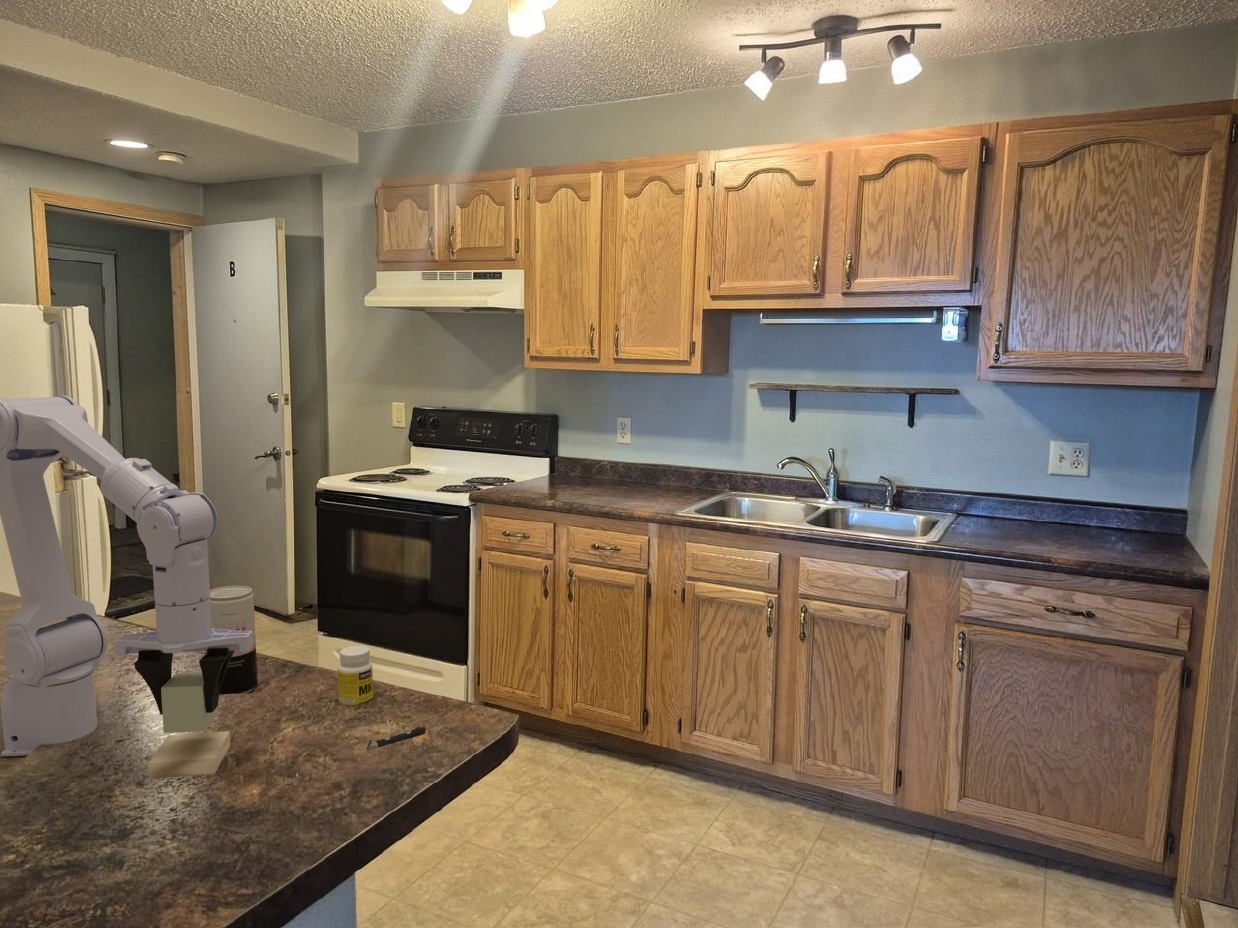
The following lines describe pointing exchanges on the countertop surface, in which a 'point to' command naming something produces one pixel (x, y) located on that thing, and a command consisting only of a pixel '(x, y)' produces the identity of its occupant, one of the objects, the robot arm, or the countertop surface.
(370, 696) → the supplement bottle
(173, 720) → the green block
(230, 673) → the beverage can
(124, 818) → the countertop surface
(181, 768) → the tan square tile
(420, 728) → the chef's knife
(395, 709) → the countertop surface
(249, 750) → the countertop surface
